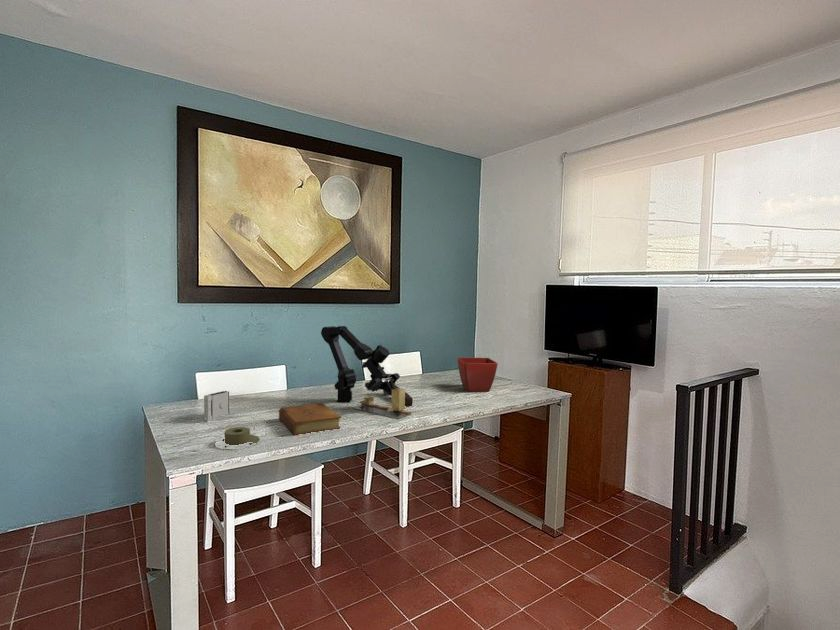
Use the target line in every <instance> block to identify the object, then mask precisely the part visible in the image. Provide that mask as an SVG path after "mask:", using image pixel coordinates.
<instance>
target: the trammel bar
mask: <svg viewBox="0 0 840 630" xmlns="http://www.w3.org/2000/svg"><path fill="white" fill-rule="evenodd" d="M374 401H375V400H374V397H373V396H370V395H369V396H365V397H364V399H363V400H360V401H359V404H360V405H361V407H363V405H366V406H371V407H375V408H380V409H385V410H388V409H390V408H391V407H389V406H387V405H386V406H384V405H381V404H376V403H375V404H374ZM392 411H394V412H399V413H403V414H408V416H411V415H412V411H411V410H410V411H409V410H406V409H403V410H400V411H397V410H392Z"/></svg>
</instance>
